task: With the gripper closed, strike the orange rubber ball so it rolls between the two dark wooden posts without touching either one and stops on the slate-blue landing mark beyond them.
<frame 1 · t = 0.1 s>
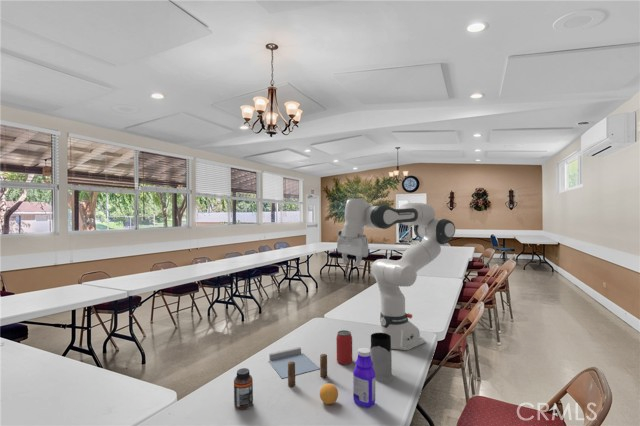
hand: (350, 265, 145), 39 cm above the table, tool pointing down, fingers open, 8 cm apart
ball: (328, 393, 108), on the table
right post: (323, 376, 125), on the table
glass holder: (382, 372, 128), on the table
landing mark: (293, 365, 135), on the table
stopper wall: (285, 356, 143), on the table
bottle: (364, 403, 108), on the table
left post: (291, 385, 119), on the table
supplement bottle: (243, 405, 107), on the table
beer can: (344, 361, 138), on the table
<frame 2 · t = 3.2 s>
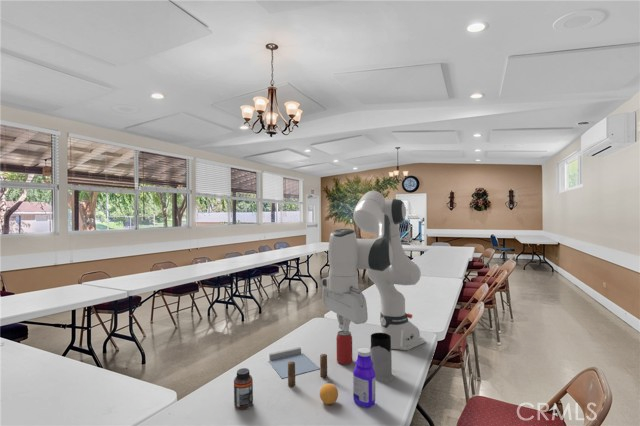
hand: (344, 329, 99), 27 cm above the table, tool pointing down, fingers closed
nothing on the table moved.
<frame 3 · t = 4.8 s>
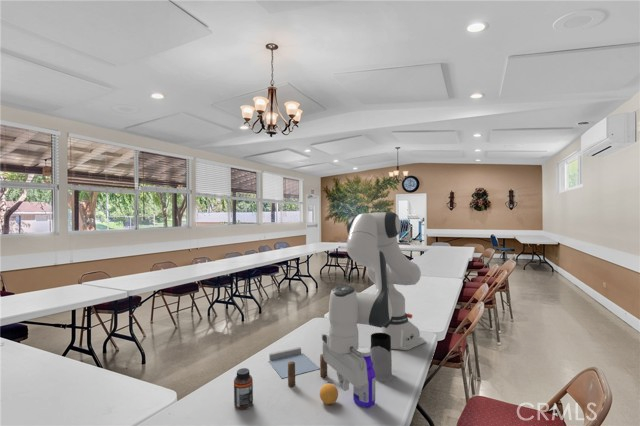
hand: (343, 388, 99), 10 cm above the table, tool pointing down, fingers closed
nothing on the table moved.
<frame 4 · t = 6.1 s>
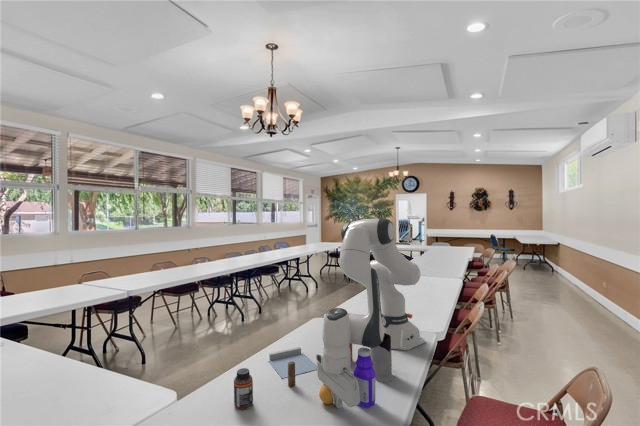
hand: (337, 405, 104), 1 cm above the table, tool pointing down, fingers closed
ball: (328, 393, 108), on the table, touching gripper
everything else where it was.
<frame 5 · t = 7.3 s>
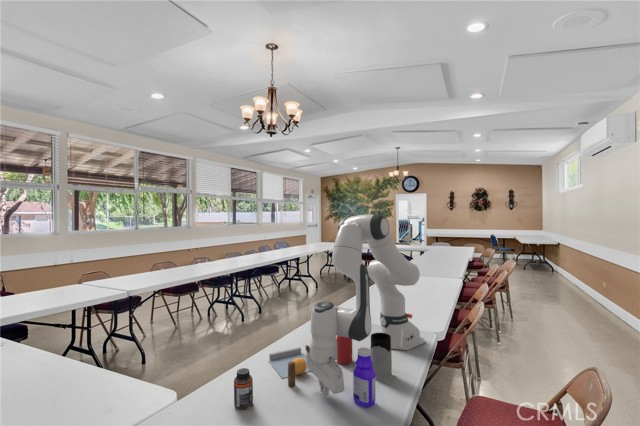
hand: (324, 393, 111), 2 cm above the table, tool pointing down, fingers closed
ball: (298, 366, 127), on the table
everything else where it was.
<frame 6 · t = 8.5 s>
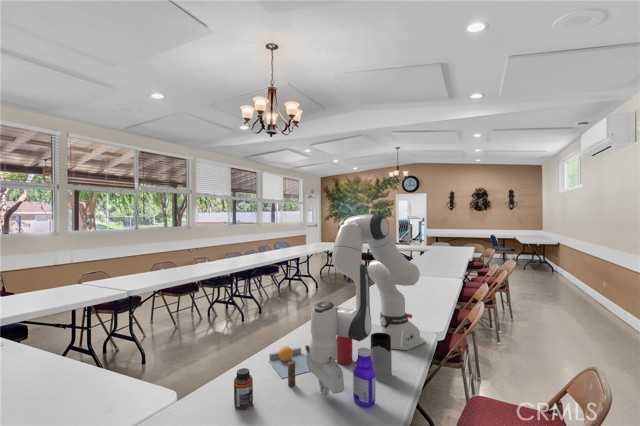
hand: (324, 393, 111), 2 cm above the table, tool pointing down, fingers closed
ball: (285, 353, 139), on the table
everything else where it was.
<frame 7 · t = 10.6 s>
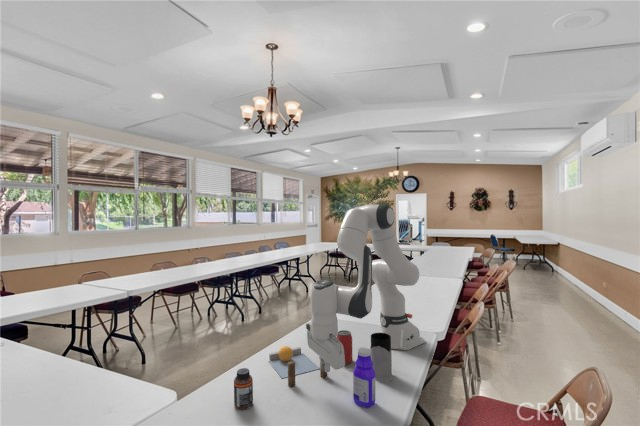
hand: (325, 370, 111), 9 cm above the table, tool pointing down, fingers closed
nothing on the table moved.
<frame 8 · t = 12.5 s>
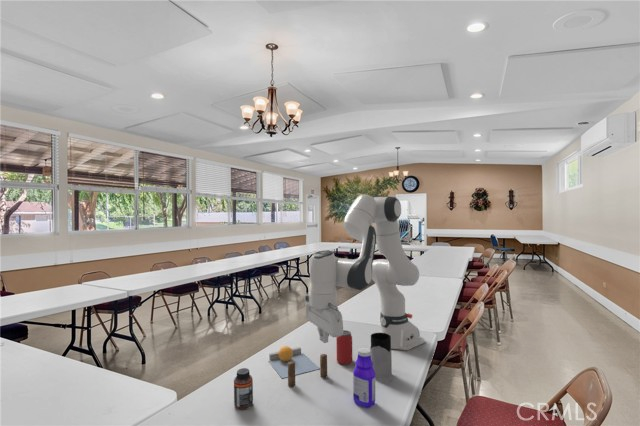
hand: (323, 341, 111), 19 cm above the table, tool pointing down, fingers closed
nothing on the table moved.
at the end: ball 5.3 cm from the landing mark (horizontally); ball never touched left post; ball never touched right post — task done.
